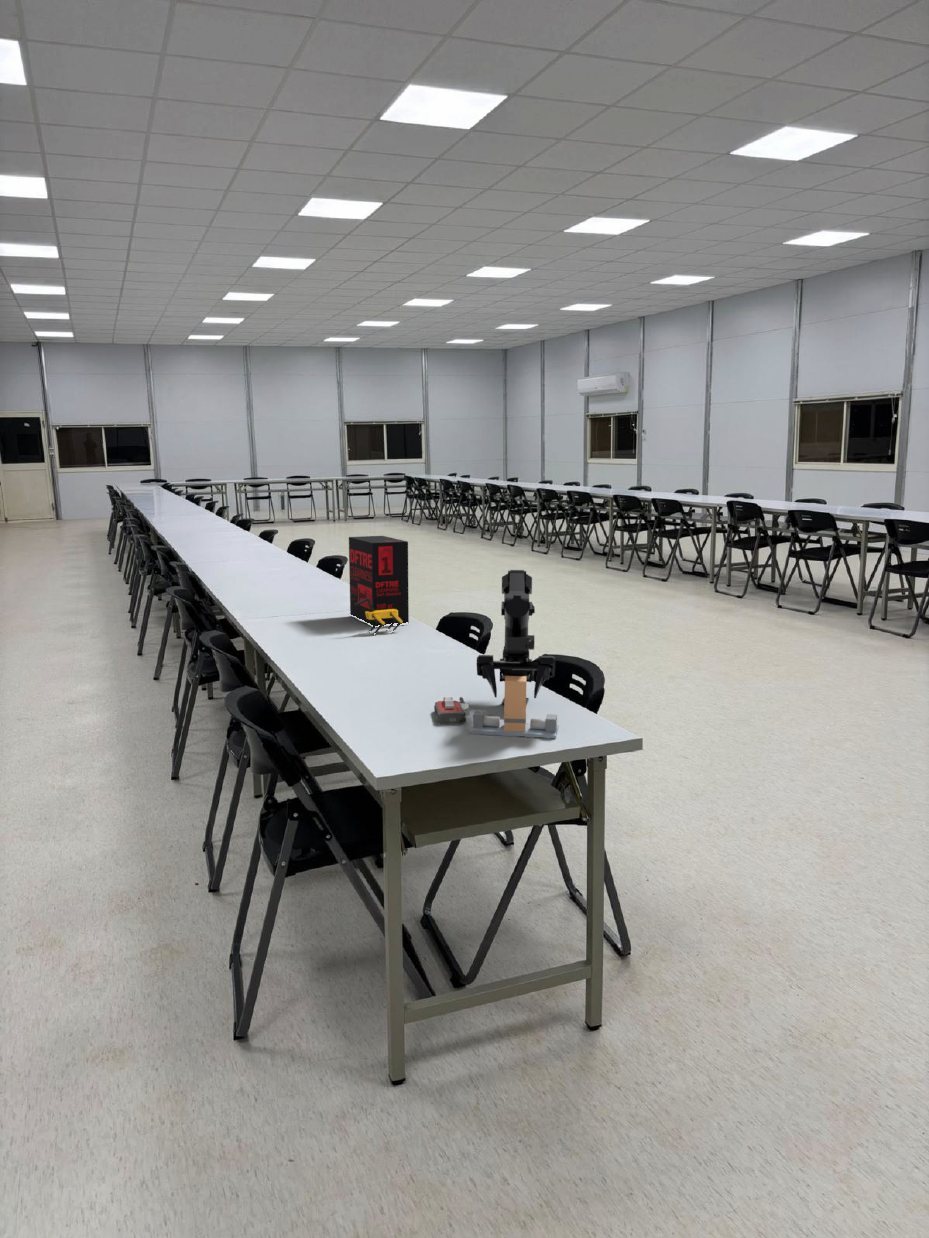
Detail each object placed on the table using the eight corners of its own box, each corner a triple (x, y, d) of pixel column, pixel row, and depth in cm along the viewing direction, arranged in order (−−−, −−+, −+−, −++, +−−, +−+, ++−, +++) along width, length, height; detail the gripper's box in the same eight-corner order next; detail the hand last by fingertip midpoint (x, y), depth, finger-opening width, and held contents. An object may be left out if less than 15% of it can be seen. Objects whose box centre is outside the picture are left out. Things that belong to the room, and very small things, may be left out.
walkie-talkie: (473, 726, 215) (465, 703, 234) (473, 708, 214) (465, 687, 233) (437, 727, 214) (432, 704, 233) (437, 709, 213) (432, 687, 232)
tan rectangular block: (504, 724, 212) (505, 675, 210) (525, 724, 212) (526, 676, 210) (503, 730, 207) (504, 681, 205) (525, 731, 207) (526, 681, 205)
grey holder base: (476, 723, 215) (476, 707, 215) (558, 728, 212) (558, 712, 211) (470, 733, 208) (470, 717, 207) (555, 738, 204) (556, 722, 203)
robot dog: (351, 634, 321) (351, 597, 318) (396, 629, 329) (396, 594, 327) (358, 637, 316) (357, 600, 313) (403, 632, 325) (403, 596, 322)
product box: (350, 616, 355) (348, 537, 349) (383, 613, 362) (382, 535, 356) (373, 628, 332) (372, 543, 326) (408, 624, 338) (408, 541, 332)
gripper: (477, 622, 210) (474, 678, 201) (556, 623, 209) (556, 680, 200) (478, 647, 219) (476, 702, 210) (554, 648, 218) (554, 704, 209)
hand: (515, 696), depth 207 cm, fingers open, 9 cm apart
